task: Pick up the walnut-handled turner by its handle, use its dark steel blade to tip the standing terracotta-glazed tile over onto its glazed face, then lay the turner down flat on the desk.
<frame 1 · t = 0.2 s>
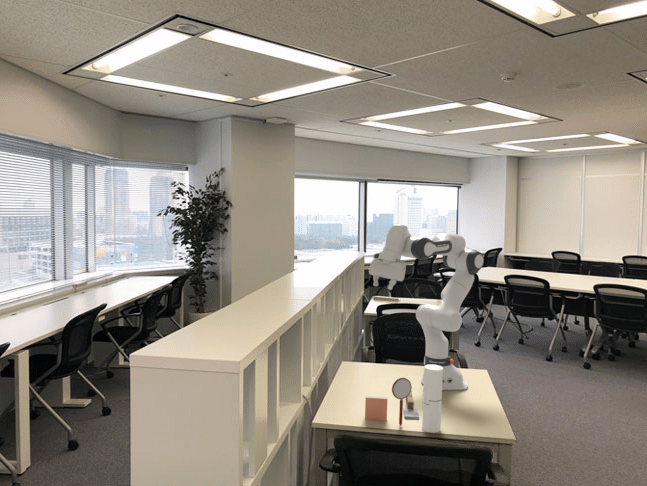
hand: (382, 287, 225), 51 cm above the table, tool tilted 20°, fingers open, 8 cm apart
magnifying glass: (400, 426, 201), on the table
cylindrical container: (431, 428, 199), on the table
turner: (410, 408, 219), on the table
glazed tile: (375, 418, 207), on the table
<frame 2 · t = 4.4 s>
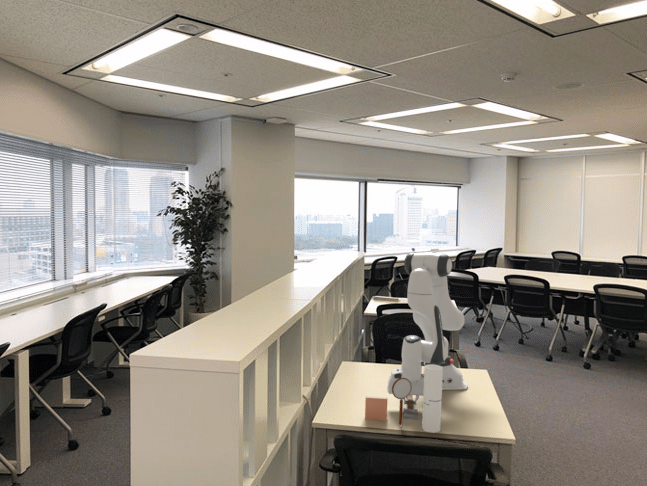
hand: (410, 404, 219), 2 cm above the table, tool pointing down, fingers closed on turner, 2 cm apart
turner: (410, 408, 219), on the table, touching gripper
everything else where it was.
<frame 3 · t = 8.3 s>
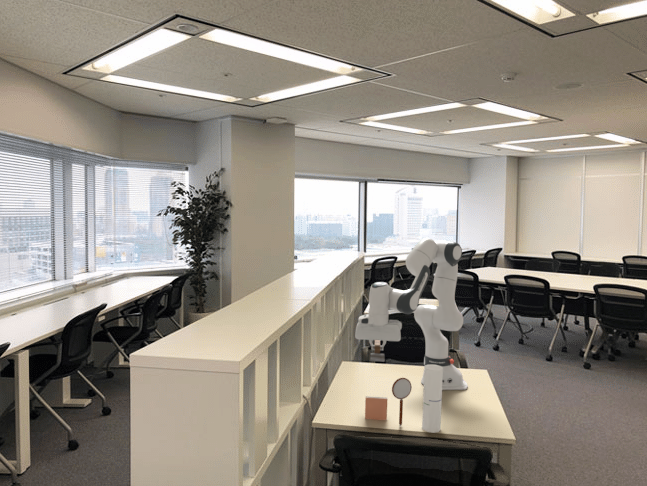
hand: (377, 349, 222), 24 cm above the table, tool pointing down, fingers closed on turner, 2 cm apart
turner: (377, 353, 221), point 23 cm above the table, touching gripper
everything else where it was.
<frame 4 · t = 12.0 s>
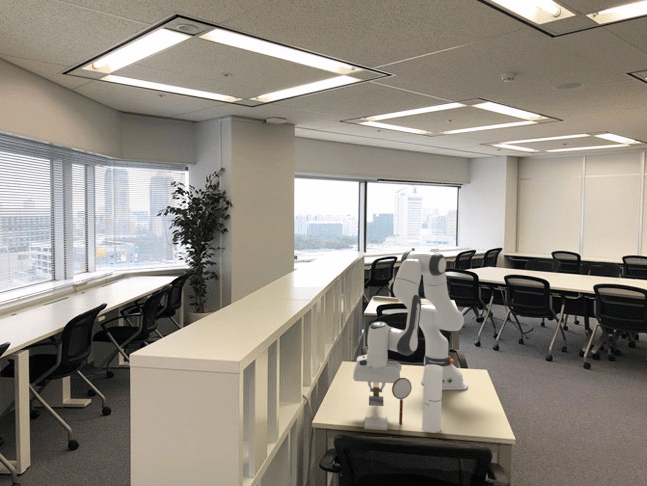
hand: (376, 391, 215), 8 cm above the table, tool pointing down, fingers closed on turner, 2 cm apart
turner: (376, 395, 215), point 7 cm above the table, touching gripper
glazed tile: (375, 419, 206), on the table, tilted 90°
everything else where it was.
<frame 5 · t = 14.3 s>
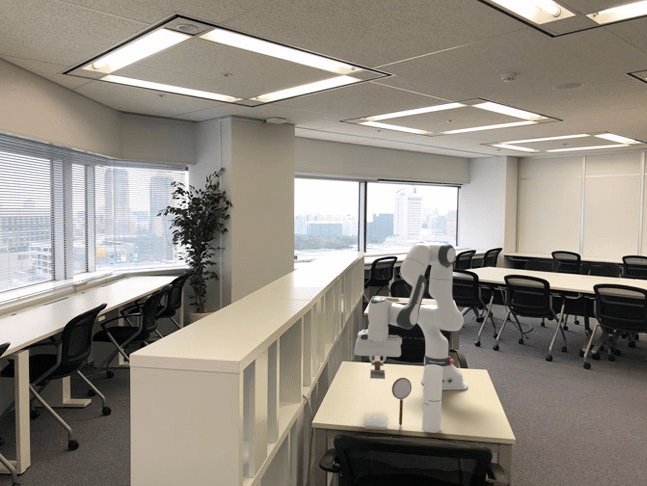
hand: (377, 365, 219), 18 cm above the table, tool pointing down, fingers closed on turner, 2 cm apart
turner: (377, 369, 218), point 17 cm above the table, touching gripper
everything else where it was.
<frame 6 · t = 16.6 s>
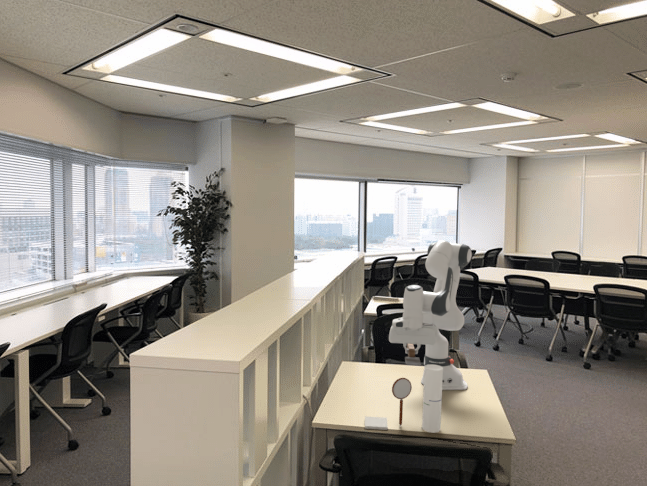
hand: (411, 353, 220), 24 cm above the table, tool pointing down, fingers closed on turner, 2 cm apart
turner: (411, 357, 220), point 22 cm above the table, touching gripper
everything else where it was.
when the fingers open (3 cm above the table, at t = 20.5 s): turner drops 1 cm, on the table.
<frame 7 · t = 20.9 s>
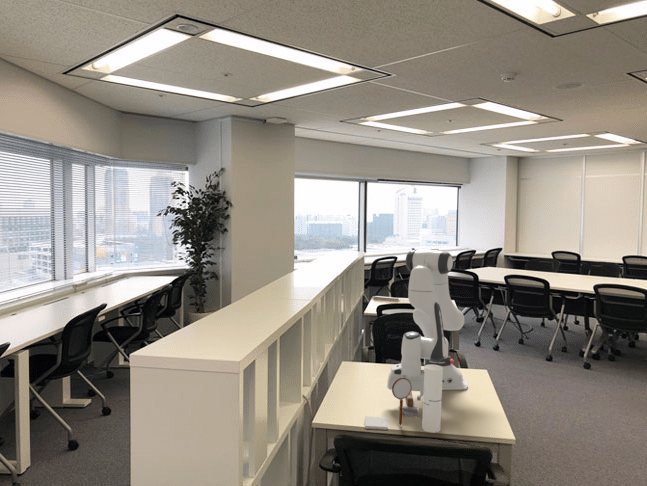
hand: (409, 399, 222), 3 cm above the table, tool pointing down, fingers open, 7 cm apart
turner: (409, 406, 221), on the table
everything else where it was.
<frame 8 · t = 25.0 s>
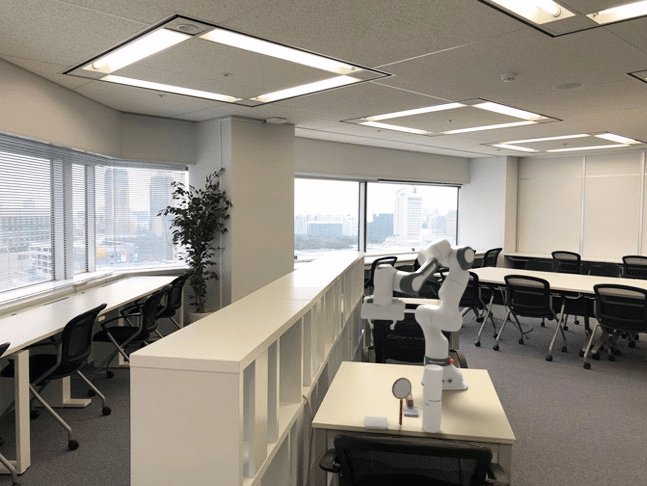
hand: (381, 328, 233), 31 cm above the table, tool pointing down, fingers open, 8 cm apart
nothing on the table moved.
at the end: glazed tile tilted 90°; glazed tile inside the target area (0.9 cm from its centre), on the table; turner touching table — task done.
